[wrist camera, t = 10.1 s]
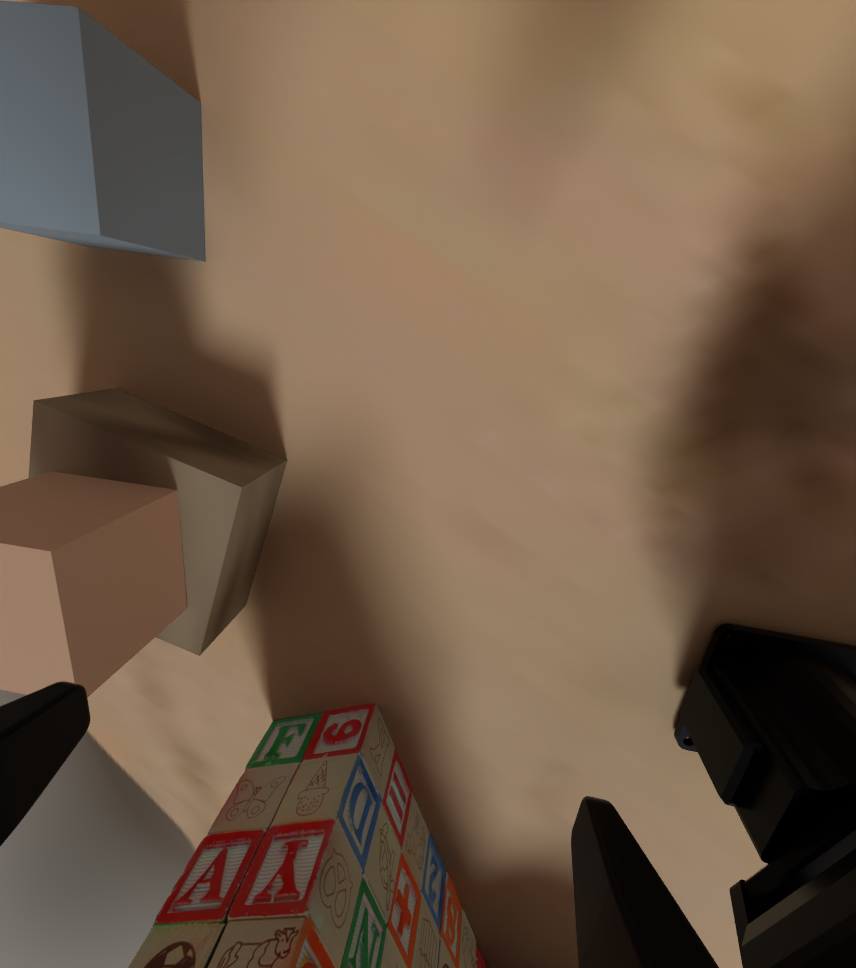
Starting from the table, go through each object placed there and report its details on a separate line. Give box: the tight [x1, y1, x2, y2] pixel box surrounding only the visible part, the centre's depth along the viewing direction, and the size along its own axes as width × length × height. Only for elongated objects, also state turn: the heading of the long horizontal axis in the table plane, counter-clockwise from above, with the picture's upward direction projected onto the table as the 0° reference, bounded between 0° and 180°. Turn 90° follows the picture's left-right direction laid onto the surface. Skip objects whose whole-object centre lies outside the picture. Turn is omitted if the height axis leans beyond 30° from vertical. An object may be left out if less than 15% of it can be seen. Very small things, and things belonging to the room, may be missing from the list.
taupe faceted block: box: [29, 389, 287, 656], centre depth 19 cm, size 8×8×4 cm
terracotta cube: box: [0, 471, 187, 697], centre depth 15 cm, size 5×5×5 cm
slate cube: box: [0, 1, 206, 262], centre depth 14 cm, size 5×5×5 cm
